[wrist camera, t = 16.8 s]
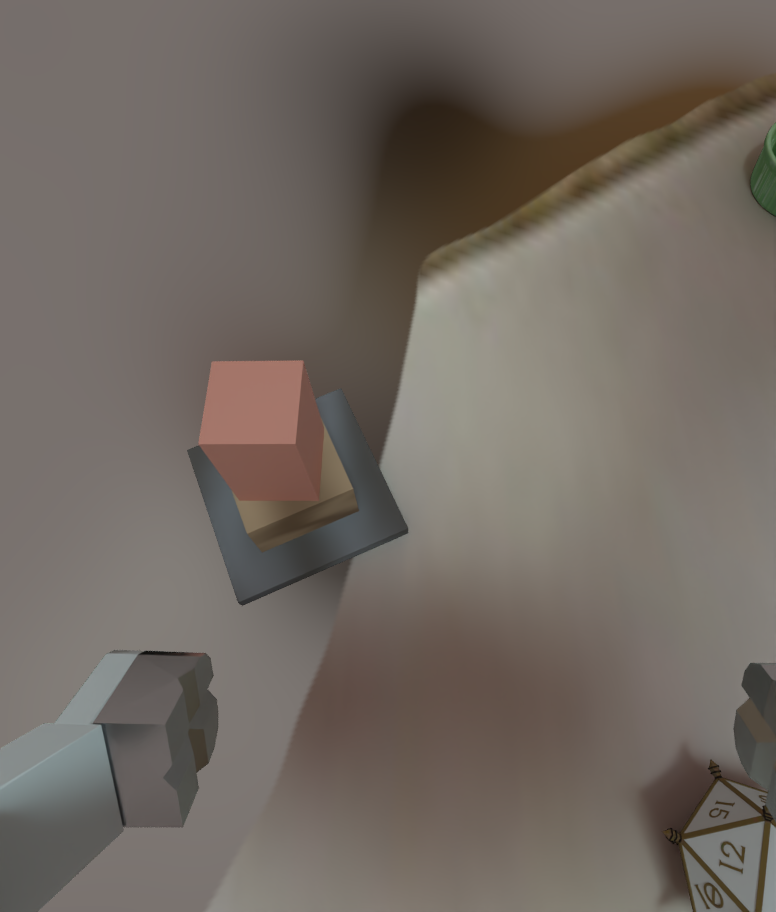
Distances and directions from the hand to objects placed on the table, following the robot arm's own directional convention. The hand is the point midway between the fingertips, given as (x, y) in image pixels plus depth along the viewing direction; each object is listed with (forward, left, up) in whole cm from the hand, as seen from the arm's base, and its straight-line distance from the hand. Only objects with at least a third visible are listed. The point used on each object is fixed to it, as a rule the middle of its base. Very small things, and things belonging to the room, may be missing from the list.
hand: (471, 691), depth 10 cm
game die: (-12, +12, -32) cm, 36 cm away
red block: (+2, -18, -26) cm, 32 cm away
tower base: (+2, -18, -31) cm, 36 cm away
